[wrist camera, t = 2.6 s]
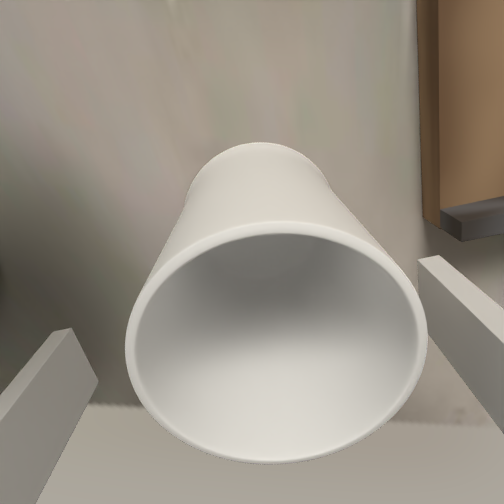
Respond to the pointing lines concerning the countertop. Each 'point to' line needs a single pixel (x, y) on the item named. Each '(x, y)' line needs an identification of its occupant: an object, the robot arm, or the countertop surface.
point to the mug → (273, 317)
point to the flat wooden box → (462, 115)
